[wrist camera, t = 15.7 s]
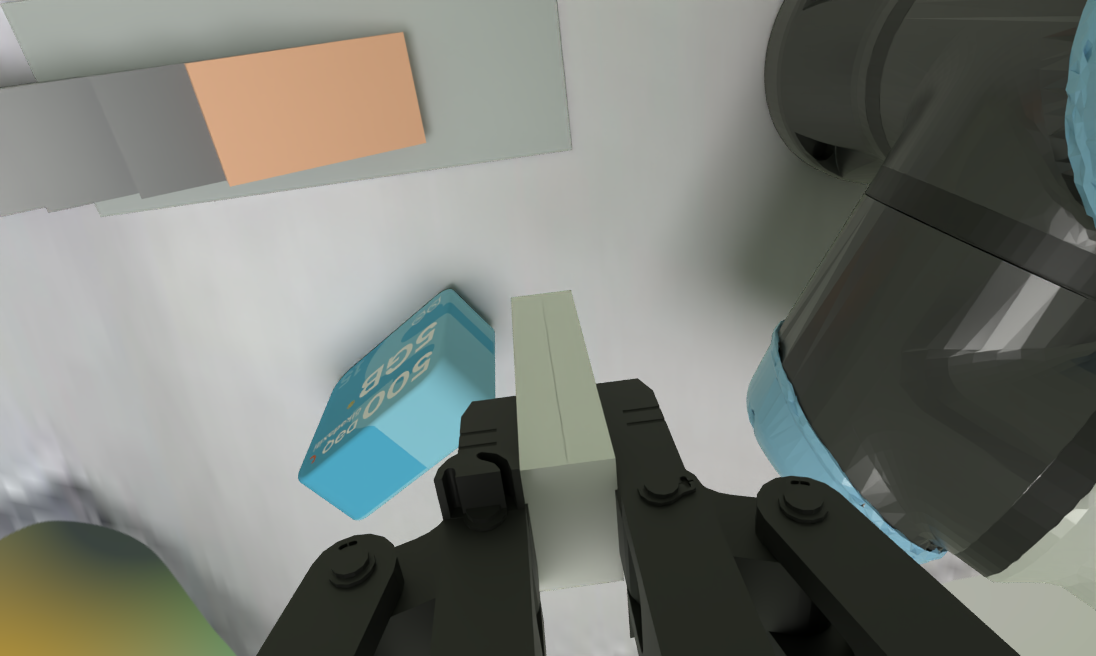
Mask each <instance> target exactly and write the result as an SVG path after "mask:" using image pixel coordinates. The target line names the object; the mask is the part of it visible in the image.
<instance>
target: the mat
mask: <svg viewBox="0 0 1096 656" xmlns="http://www.w3.org/2000/svg"><path fill="white" fill-rule="evenodd" d="M0 5H1V7H2V9H3V11H4V13H5V15H6V17H7V19H8V22H9V24H10V26H11V28H12V30H13V32H14V34H15V36H16V39H17V41H18V43H19V45H20V47H21V49H22V51H23V53H24V56H25V58H26V60H27V62H28V64H29V66H30V68H31V70H32V72H33V75H34V77H35V79H36V81H37V82H43V81H50V80H57V79H64V78H71V77H82V76H89V75H96V74H103V73H110V72H117V71H123V70H130V69H137V68H140V69H141V68H148V67H155V66H162V65H168V64H175V63H182V62H189V61H196V60H203V59H210V58H217V57H224V56H234V55H241V54H248V53H254V52H261V51H268V50H275V49H282V48H289V47H296V46H303V45H310V44H321V43H328V42H335V41H341V40H348V39H355V38H362V37H369V36H376V35H383V34H390V33H398V32H403V33H404V38H405V43H406V47H407V52H408V57H409V62H410V67H411V71H412V76H413V81H414V86H415V91H416V95H417V100H418V105H419V110H420V114H421V119H422V124H423V129H424V134H425V138H426V143H424V144H419V145H415V146H410V147H406V148H401V149H397V150H393V151H388V152H384V153H379V154H375V155H370V156H366V157H361V158H357V159H352V160H348V161H343V162H339V163H334V164H330V165H325V166H321V167H316V168H312V169H307V170H303V171H298V172H294V173H290V174H285V175H281V176H276V177H272V178H267V179H263V180H258V181H254V182H249V183H245V184H240V185H236V186H231V187H230V186H229V184H228V182H227V181H222V182H218V183H213V184H209V185H204V186H200V187H195V188H191V189H186V190H181V191H177V192H172V193H168V194H163V195H159V196H154V197H150V198H145V199H141V196H140V194H139V193H138V194H134V195H129V196H124V197H120V198H115V199H111V200H106V201H101V202H97V203H94V204H95V206H96V208H97V210H98V212H99V215H100V217H106V216H113V215H120V214H127V213H134V212H141V211H148V210H155V209H162V208H169V207H176V206H183V205H190V204H197V203H204V202H211V201H218V200H225V199H232V198H239V197H246V196H253V195H260V194H267V193H274V192H281V191H288V190H295V189H302V188H309V187H316V186H323V185H330V184H337V183H344V182H351V181H358V180H365V179H372V178H379V177H386V176H393V175H400V174H407V173H414V172H421V171H428V170H435V169H442V168H449V167H456V166H463V165H470V164H477V163H484V162H491V161H498V160H505V159H512V158H519V157H526V156H533V155H540V154H547V153H554V152H561V151H568V150H572V147H571V137H570V127H569V118H568V108H567V98H566V89H565V79H564V69H563V60H562V50H561V40H560V31H559V21H558V11H557V2H556V0H25V1H18V2H11V3H3V4H0Z"/></svg>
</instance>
